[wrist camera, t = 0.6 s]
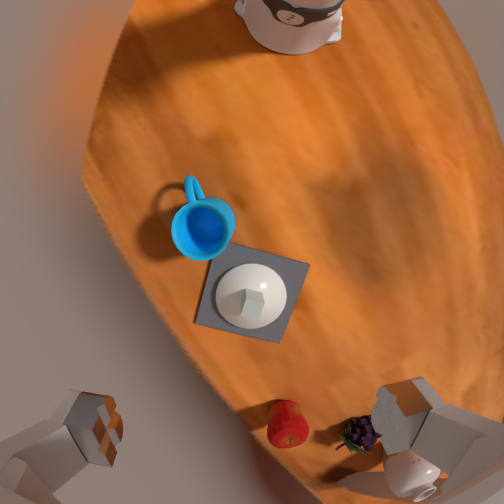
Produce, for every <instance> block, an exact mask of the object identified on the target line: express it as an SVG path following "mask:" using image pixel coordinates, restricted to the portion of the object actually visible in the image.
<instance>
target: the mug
mask: <svg viewBox="0 0 504 504" xmlns="http://www.w3.org/2000/svg"><path fill="white" fill-rule="evenodd" d="M184 187H185V193H186V198H187V202H188V204H186V205H185V206H183V207H182V208H181V209H180V210H179V211H178V212H177V213H176V215H175V217H174V219H173V221H172V228H171V233H172V238H173V241H174V243H175V245H176V247H177V249H178V250H179V251H180V252H181V253H182V254H183V255H185V256H187V257H189V258H191V259H194V260H199V261H203V260H210V259H212V258H214V257H216V256H218V255H219V254H220V253H221V252H222V251H223V250H224V249H225V248H226V246H227V244H228V242H229V240H230V238H231V236H232V234H233V232H234V230H235V224H236V221H235V215H234V213H233V211H232V209H231V207H230V206H229V205H228V204H227V203H226V202H225V201H223V200H221V199H219V198H214V197H207V198H205V196H204V194H203V191H202V189H201V187H200V185H199V183H198V181H197V179H196V178H195V177H194V176H192V175H189V176H187V177H186V178H185V181H184ZM194 192H195V194H194ZM195 195H196V197H197V200H196V198H195Z"/></svg>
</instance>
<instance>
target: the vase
mask: <svg viewBox="0 0 504 504" xmlns="http://www.w3.org/2000/svg"><path fill="white" fill-rule="evenodd" d="M383 466H384V472H385V476H386V480H387V483H388V486H389V488H390V489H391V491H392V492H393V493H394V494H395V495H397V496H399V497H407V496H411V495H413V501H414V502H418V501H421V500H423V499H425V498H427V497H428V496H430V495H431V494H432V493H434V491H435V490H436V487H435V486H433V484H432V483H433V482H434V481H435V480H436V479H437V478H438V476H439V474H440V470H441V469H439V468H437V467H436V466H434V465H433V464H431V463H429V462H428V461H426V460H425V459H423V458H422V457H420V456H419V455H417V454H416V453H414V452H413V451H411V450H410V449H408V450H404V451H401V452H397V453H394V454H390V455H387V453H386V451H385V449H384V448H383Z"/></svg>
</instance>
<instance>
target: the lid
mask: <svg viewBox="0 0 504 504" xmlns="http://www.w3.org/2000/svg"><path fill="white" fill-rule="evenodd" d="M286 298H287V294H286V288H285V285H284V283H283V280H282V279H281V277H280V276H279V275H278V273H277V272H276V271H274V270H273V269H272V268H270V267H268V266H266V265H263V264H260V263H243V264H240V265H237V266H235V267H233V268H231V269H230V270H229V271H227V272H226V273H225V274H224V275H223V276H222V278H221V279H220V281H219V283H218V286H217V290H216V304H217V307H218V310H219V312H220V314H221V315H222V316H223V317H224V318H225V319H226V320H227V321H228V322H229V323H231V324H233V325H235V326H237V327H240V328H246V329H255V328H260V327H263V326H266V325H268V324H270V323H271V322H273V321H274V320H275V319H276V318H277V317H278V316H279V315H280V314H281V312H282V311H283V309H284V307H285V304H286Z"/></svg>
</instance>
